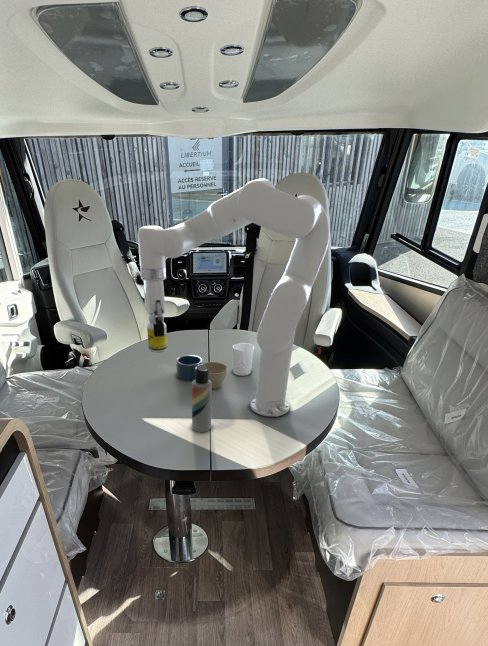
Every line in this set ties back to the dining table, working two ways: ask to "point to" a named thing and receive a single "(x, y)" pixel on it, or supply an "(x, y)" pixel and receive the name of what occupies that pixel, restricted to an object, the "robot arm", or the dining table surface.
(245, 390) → the dining table surface
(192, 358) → the canister
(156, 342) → the pill bottle
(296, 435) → the dining table surface
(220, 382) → the flower pot
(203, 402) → the lotion bottle
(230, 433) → the dining table surface
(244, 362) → the white cup
